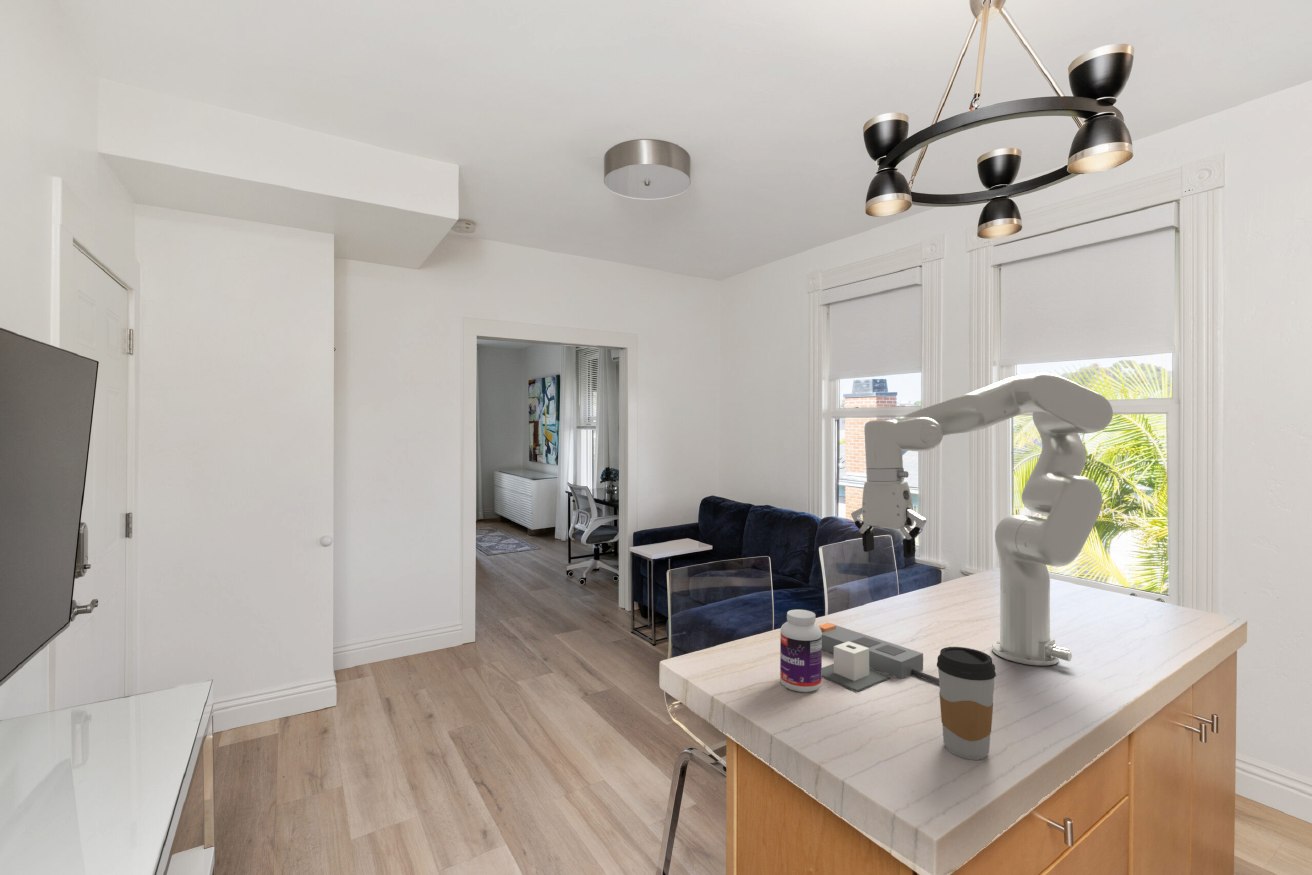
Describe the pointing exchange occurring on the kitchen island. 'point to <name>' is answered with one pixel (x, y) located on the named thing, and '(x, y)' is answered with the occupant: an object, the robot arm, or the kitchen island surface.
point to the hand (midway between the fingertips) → (888, 553)
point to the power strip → (877, 652)
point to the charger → (851, 660)
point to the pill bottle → (801, 652)
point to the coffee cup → (966, 700)
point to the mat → (858, 684)
